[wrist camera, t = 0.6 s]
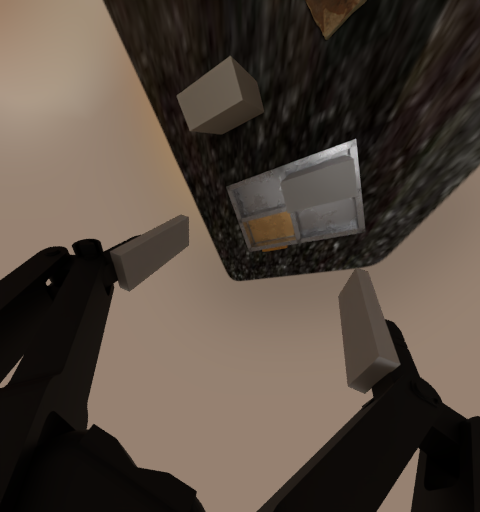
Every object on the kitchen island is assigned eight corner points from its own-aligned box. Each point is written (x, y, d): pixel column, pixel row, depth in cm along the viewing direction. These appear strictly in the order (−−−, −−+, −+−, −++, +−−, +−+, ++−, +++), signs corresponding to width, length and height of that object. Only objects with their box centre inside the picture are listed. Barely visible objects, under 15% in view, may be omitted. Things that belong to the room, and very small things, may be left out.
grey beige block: (213, 108, 32) (176, 95, 24) (256, 81, 28) (230, 55, 20) (221, 134, 33) (190, 131, 25) (264, 112, 30) (242, 99, 22)
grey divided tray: (232, 184, 37) (226, 186, 35) (352, 139, 28) (355, 138, 25) (254, 248, 42) (250, 254, 40) (362, 228, 33) (365, 235, 30)
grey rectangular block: (290, 173, 32) (279, 182, 24) (344, 154, 28) (353, 158, 20) (296, 196, 33) (287, 213, 25) (348, 182, 29) (357, 195, 21)
